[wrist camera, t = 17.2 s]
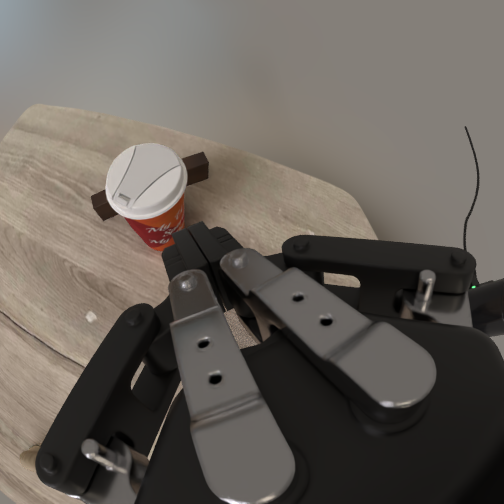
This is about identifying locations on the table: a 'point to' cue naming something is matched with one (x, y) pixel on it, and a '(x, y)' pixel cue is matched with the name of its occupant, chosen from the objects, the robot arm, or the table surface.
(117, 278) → the table surface
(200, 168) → the bar
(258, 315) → the robot arm
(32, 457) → the decorative ornament
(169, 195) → the paper cup
